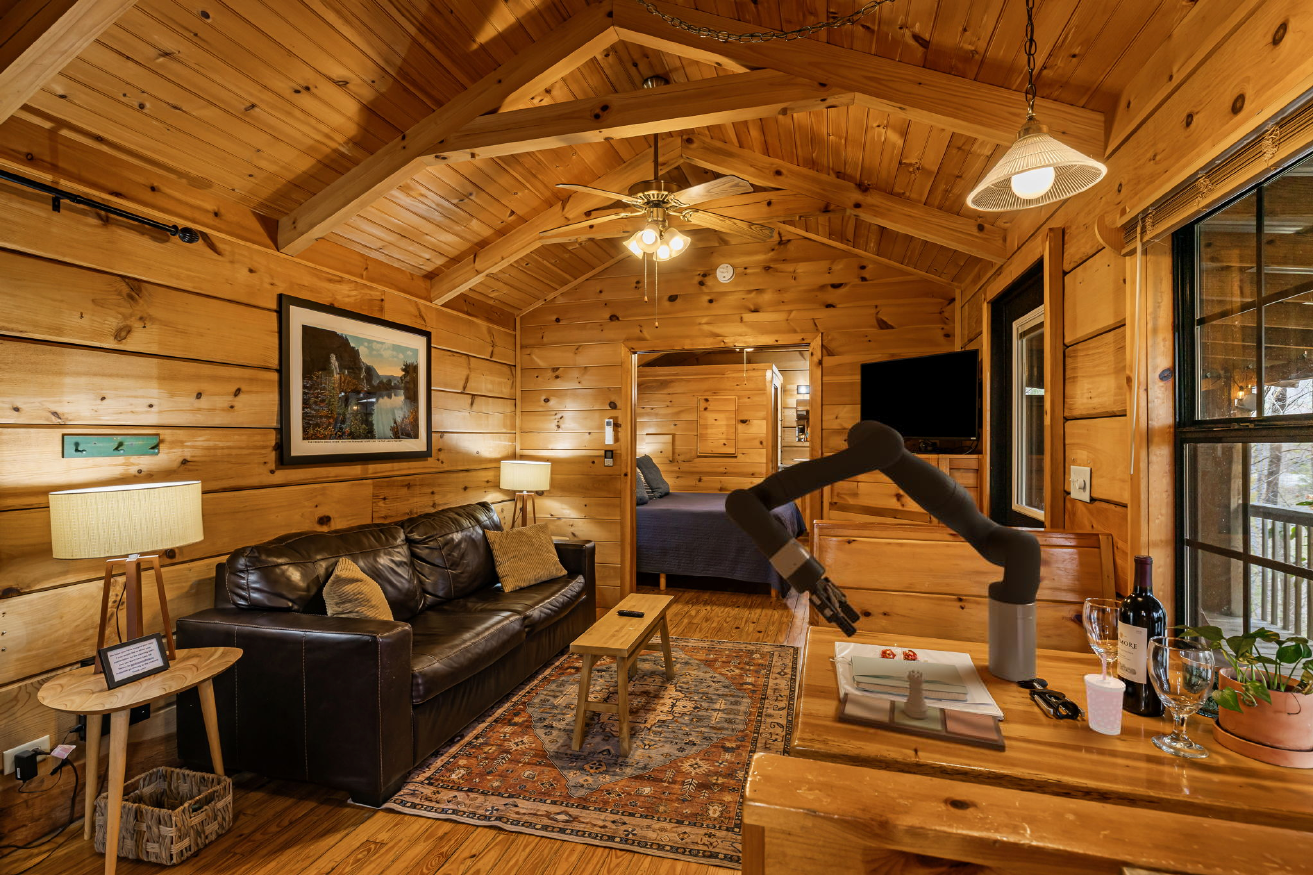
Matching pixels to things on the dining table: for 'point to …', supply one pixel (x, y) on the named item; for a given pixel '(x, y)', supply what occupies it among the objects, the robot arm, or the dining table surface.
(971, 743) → the tile board
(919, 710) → the rook chess piece
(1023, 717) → the dining table surface
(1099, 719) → the beverage cup
